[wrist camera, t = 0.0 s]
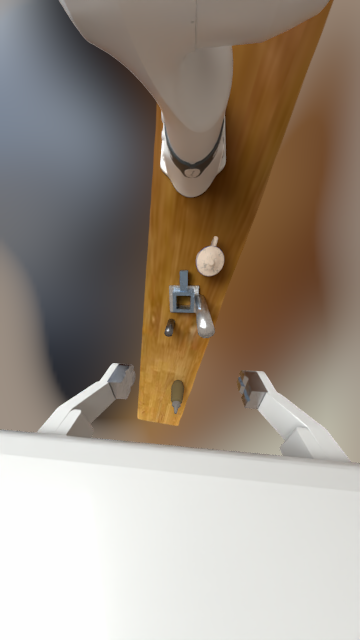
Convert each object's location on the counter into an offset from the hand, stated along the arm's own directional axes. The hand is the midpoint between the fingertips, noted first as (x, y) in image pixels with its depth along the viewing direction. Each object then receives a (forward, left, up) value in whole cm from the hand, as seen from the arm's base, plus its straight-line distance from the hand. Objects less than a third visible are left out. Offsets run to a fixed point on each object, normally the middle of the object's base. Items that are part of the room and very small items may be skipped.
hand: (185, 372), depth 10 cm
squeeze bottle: (+68, -5, -48) cm, 84 cm away
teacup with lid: (-7, +7, -48) cm, 49 cm away
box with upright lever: (+7, 0, -48) cm, 49 cm away
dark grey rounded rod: (+22, -8, -48) cm, 54 cm away
